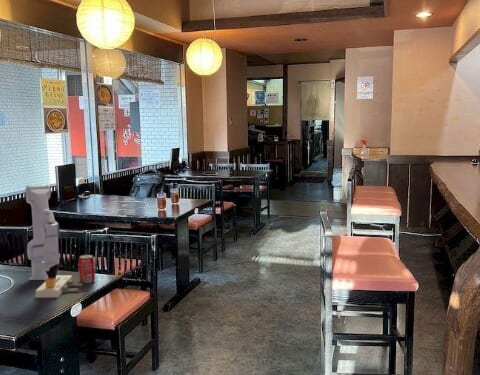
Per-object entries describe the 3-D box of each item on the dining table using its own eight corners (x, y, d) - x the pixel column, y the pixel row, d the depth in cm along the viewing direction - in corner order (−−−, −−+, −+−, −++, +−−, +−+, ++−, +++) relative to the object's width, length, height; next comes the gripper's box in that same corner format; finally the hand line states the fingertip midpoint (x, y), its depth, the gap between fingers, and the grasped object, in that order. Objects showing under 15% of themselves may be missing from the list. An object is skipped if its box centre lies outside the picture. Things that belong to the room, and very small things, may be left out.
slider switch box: (52, 281, 209) (52, 275, 209) (72, 281, 210) (72, 275, 210) (35, 297, 190) (35, 290, 189) (58, 297, 190) (57, 290, 190)
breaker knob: (47, 285, 195) (47, 277, 195) (55, 285, 195) (55, 277, 195) (45, 287, 193) (45, 279, 192) (53, 286, 193) (53, 279, 193)
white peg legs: (69, 285, 205) (69, 280, 204) (82, 285, 205) (82, 280, 205) (62, 292, 196) (62, 287, 195) (77, 292, 196) (76, 287, 196)
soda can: (87, 278, 215) (86, 253, 214) (98, 280, 212) (97, 255, 210) (75, 282, 209) (74, 256, 208) (86, 285, 206) (85, 259, 204)
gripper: (46, 247, 201) (48, 277, 203) (35, 256, 187) (36, 288, 188) (63, 247, 202) (64, 276, 203) (53, 256, 187) (54, 288, 189)
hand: (52, 282), depth 196 cm, fingers closed
